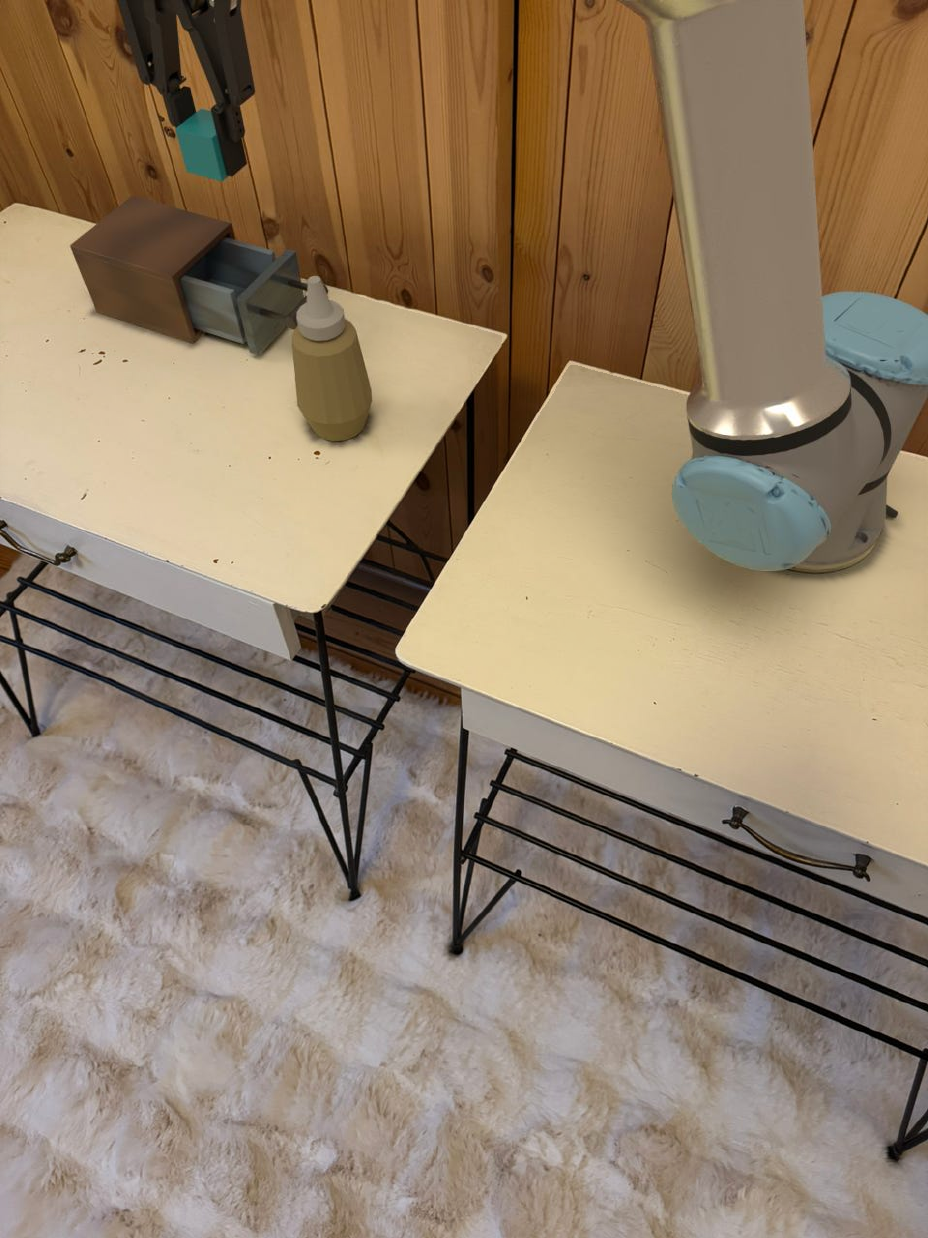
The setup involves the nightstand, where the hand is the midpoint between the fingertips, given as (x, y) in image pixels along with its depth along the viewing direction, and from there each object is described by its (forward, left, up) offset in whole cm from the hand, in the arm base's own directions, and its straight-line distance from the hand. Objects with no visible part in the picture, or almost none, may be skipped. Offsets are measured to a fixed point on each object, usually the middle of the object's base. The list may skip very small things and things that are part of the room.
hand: (216, 163), depth 94 cm
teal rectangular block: (0, 0, 0) cm, 0 cm away
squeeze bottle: (-14, +15, -21) cm, 29 cm away
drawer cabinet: (+12, -4, -20) cm, 24 cm away
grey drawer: (0, 0, -19) cm, 19 cm away
